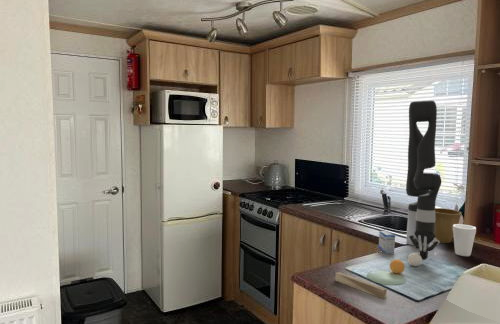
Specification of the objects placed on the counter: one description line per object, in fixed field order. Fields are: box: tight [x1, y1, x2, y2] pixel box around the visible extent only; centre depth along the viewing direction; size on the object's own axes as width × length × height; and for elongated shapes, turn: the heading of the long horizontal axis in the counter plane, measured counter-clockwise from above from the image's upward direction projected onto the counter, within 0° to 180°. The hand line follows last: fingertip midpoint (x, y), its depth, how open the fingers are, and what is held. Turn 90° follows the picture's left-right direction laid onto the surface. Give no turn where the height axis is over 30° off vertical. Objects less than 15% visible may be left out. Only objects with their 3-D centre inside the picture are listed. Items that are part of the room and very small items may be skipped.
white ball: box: [407, 252, 423, 267], centre depth 163 cm, size 6×6×6 cm
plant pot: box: [434, 207, 462, 244], centre depth 201 cm, size 15×15×16 cm
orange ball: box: [389, 258, 405, 275], centre depth 155 cm, size 6×6×6 cm
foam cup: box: [453, 223, 477, 257], centre depth 180 cm, size 10×9×13 cm
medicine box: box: [378, 230, 396, 254], centre depth 184 cm, size 8×4×9 cm, turn 5°
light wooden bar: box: [335, 271, 388, 300], centre depth 139 cm, size 2×20×3 cm, turn 39°
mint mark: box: [366, 270, 406, 286], centre depth 150 cm, size 14×14×1 cm
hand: (423, 259), depth 167 cm, fingers closed
